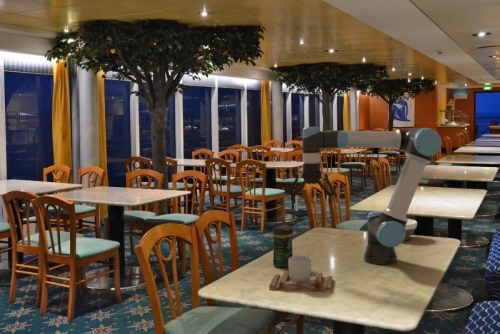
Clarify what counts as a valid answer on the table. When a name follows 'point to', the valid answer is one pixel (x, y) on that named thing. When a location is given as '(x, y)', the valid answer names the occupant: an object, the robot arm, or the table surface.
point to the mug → (300, 268)
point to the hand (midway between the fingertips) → (312, 210)
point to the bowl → (410, 228)
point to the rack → (301, 283)
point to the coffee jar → (282, 245)
